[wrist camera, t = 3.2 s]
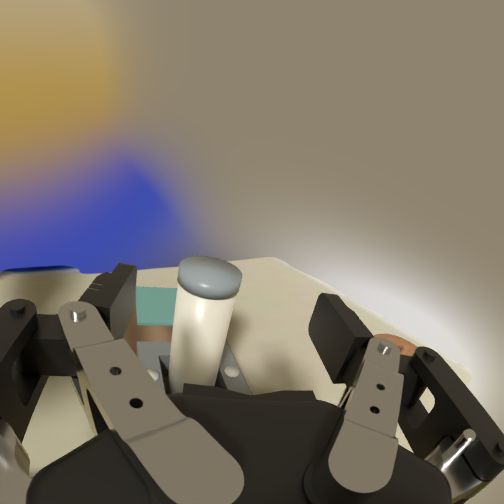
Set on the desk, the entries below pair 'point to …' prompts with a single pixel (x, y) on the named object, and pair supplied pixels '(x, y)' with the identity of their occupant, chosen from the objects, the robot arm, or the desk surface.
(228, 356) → the grey square socket
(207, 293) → the capped cream cylinder
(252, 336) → the desk surface
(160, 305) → the mat
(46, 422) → the desk surface
